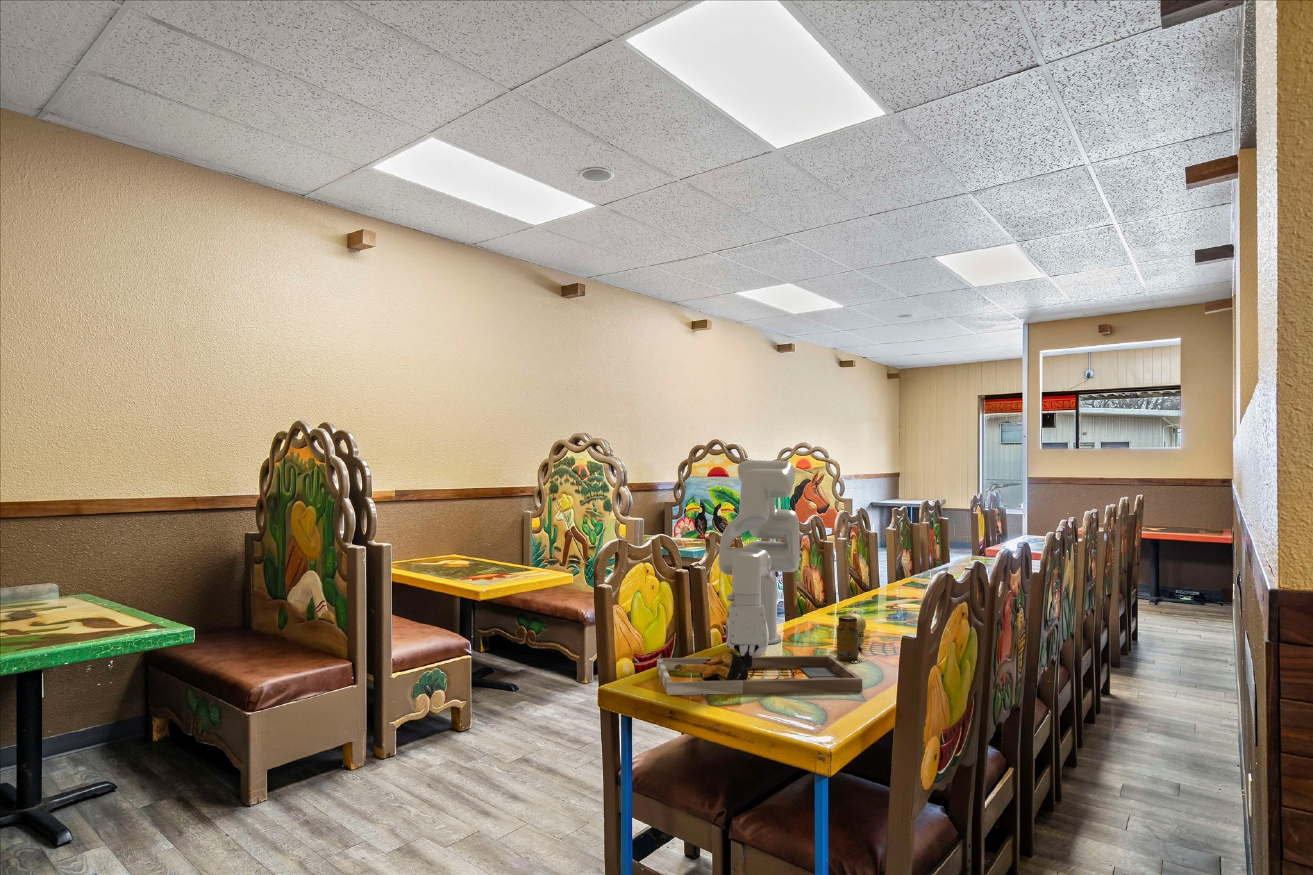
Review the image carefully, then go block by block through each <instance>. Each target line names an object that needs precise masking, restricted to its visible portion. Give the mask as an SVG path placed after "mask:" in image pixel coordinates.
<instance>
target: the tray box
mask: <svg viewBox="0 0 1313 875" xmlns="http://www.w3.org/2000/svg"><path fill="white" fill-rule="evenodd" d="M716 657H718V658H719V657H720V656H715V657H714V656H713V657H712V656H711V657H710V656H709V657H708V656H707V657H663V658H656V670H658V671H657V673H658V675H659V678H660V680H661V683H662V685H663V688H664V691H665V692H666V695H667V696H668V695H683V696H707V695H706V694H724V695H752V694H753V695H757V694H761V695H762V694H795V693H796V694H800V693H801V692H803V693H833V692H834V693H837V692H843V693H844V692H863V678H862V677H860V676H859V675H858V674H857V673H855V671H854V672H853V671H852V670H851V669H850V668H848V667H847V666H845V664H843V663H842V662H840V660H838V659H835V658H834V657H833V655H830V654H829V655H824V654H823V655H820V654H819V655H777V656H776V655H775V656H773V655H772V656H771V655H770V656H769V655H766V656H764V655H762V656H760V657H752V667H750V670H754V669H759V670H760V669H763V670H764V669H799V670H800V671H802V672H803V673H804V674H805V675H806V677H808V678H787V679H786V678H785V679H784V678H783V679H747V680H731V681H704V680H700V681H699V680H698V681H696V680H693V681H692V680H690V681H686V680H685V681H672V678H671V676H670V674H669V672H668V671H675V670H674V666H676V665H678V664H680V665H683V664H695V665H697V664H700V665H701V664H702V662H704V661H706V660H708V659H711V658H716ZM701 694H703V695H701ZM801 694H802V693H801Z"/></svg>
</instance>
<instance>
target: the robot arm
mask: <svg viewBox="0 0 1313 875" xmlns="http://www.w3.org/2000/svg"><path fill="white" fill-rule="evenodd" d="M793 465H794V464H793V463H792V462H791V461H788V460H787V461H786V460H760V459H759V460H757V459H756V460H752V459H751V460H744V461H742V462H740V463H738V466H737V475H738V479H739V481H740V482H741V483H740V484H741V485H740V496H739V507H738V508H739V509H738V515H737V516H736V517H734V518H733V519H732V520H731V521H730V522H729V523H728V524H727V525H726V527H725V529H724V530H723V532H722V535H721V537H720V541H719V549H718V550H719V551H718V568H719V571H720V572H721V573H722V574H723V575H727V576H732V578H731V593H730V594H728V595H726V601H729V602H731V603H730V604H729V606H728V610H727V618H726V626H725V628H726V629H725V637H726V642H725V647H726V648H728V649H731V650H735V651H736V652H737V653H738V654H739V657H740V658H741V659H742V660H743V661H744V663H745V665H746V666H747V667H749V670H748V672H750V671H751V669H750V667H752V656H753V655H754V653H755V652H756V651H757V650H758V649H759V648H763V647H766V641H767V628H766V623H767V626H768V633H769V641H768V645H770V644H772V645H773V644H777V643H780V642H782V635H780V634H779V633H777V629H778V626H777V624H778V623H777V621H778V620H777V618H778V617H777V616H778V613H777V612H778V611H777V610H778V608H777V607H778V605H777V604H778V603H777V602H778V586H777V582H776V581H775V579H774V577H773V576H772V574H770V573H771V572H778V573H794V572H796V571H797V570H798V569H799V567H800V561H801V560H800V558H801V557H800V556H801V554H800V553H801V552H800V551H801V550H800V549H801V548H800V547H801V546H800V521H799V517H798V514H797V512H795V511H794V510H791V509H778V508H776V499H777V498H778V499H783V498H784V499H786V498H788V497H790V496H791V494H792V491H793V486H794V482H795V478H796V477H795V474H796V472H795V468H794V466H793ZM748 531H749V533H750V535H751V536H752V537H753V538H756V539H763V540H755V541H751V542H749V543H747V545H746V547H731V545H732V543H733V541H734V540H735V539H736V538H737V537H739V536H740V535H742V534H744V533H746V532H748ZM764 539H767V541H766V540H764ZM768 540H769V541H768ZM770 540H771V541H770ZM772 540H783V541H772ZM764 634H765V635H764ZM744 645H748V646H747V651H746V653H745V650H744Z"/></svg>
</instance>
